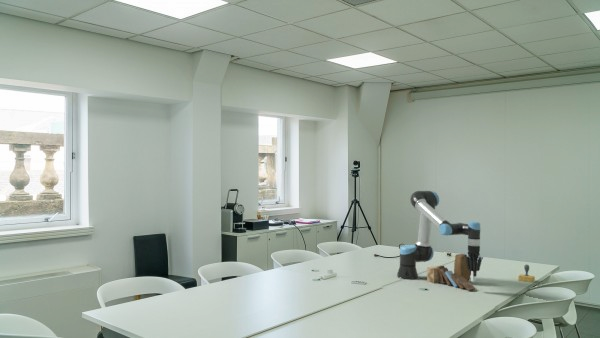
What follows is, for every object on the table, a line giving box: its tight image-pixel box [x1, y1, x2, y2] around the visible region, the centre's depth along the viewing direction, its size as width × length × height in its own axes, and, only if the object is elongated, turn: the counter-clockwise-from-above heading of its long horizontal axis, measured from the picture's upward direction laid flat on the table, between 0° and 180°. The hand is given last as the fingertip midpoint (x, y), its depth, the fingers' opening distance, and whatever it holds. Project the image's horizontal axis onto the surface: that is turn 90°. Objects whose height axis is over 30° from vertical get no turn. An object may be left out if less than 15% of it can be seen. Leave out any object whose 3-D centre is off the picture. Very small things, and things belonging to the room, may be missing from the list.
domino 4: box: [450, 273, 467, 290], centre depth 314 cm, size 2×5×12 cm
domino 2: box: [441, 267, 453, 286], centre depth 322 cm, size 2×5×12 cm
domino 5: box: [456, 276, 476, 292], centre depth 310 cm, size 2×5×12 cm
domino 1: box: [437, 265, 447, 284], centre depth 326 cm, size 2×5×12 cm, turn 123°
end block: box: [426, 265, 441, 284], centre depth 331 cm, size 6×12×10 cm, turn 122°
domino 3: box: [445, 270, 460, 288], centre depth 319 cm, size 2×5×12 cm
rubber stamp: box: [517, 264, 536, 283], centre depth 340 cm, size 10×6×12 cm, turn 52°
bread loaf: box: [453, 253, 471, 282], centre depth 330 cm, size 11×8×20 cm
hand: (473, 280), depth 305 cm, fingers closed
